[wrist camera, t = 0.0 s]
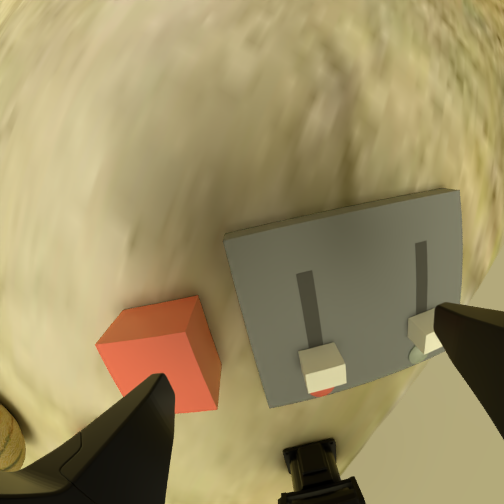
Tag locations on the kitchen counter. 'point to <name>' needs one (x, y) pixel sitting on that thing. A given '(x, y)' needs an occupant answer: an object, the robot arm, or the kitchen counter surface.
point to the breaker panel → (346, 286)
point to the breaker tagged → (322, 367)
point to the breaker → (423, 332)
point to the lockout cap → (165, 352)
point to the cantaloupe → (10, 443)
